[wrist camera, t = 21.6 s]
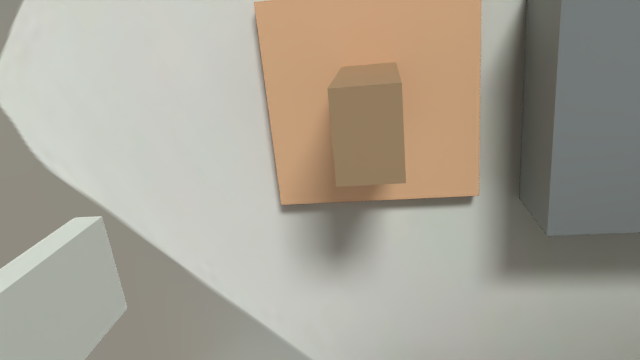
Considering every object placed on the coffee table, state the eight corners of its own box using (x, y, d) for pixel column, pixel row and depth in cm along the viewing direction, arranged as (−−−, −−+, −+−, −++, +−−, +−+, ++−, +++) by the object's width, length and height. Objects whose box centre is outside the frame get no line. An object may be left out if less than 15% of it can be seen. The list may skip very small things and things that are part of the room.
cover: (476, -22, 30) (524, -36, 20) (474, 187, 34) (512, 259, 25) (259, 2, 32) (205, -1, 22) (285, 197, 36) (250, 267, 27)
